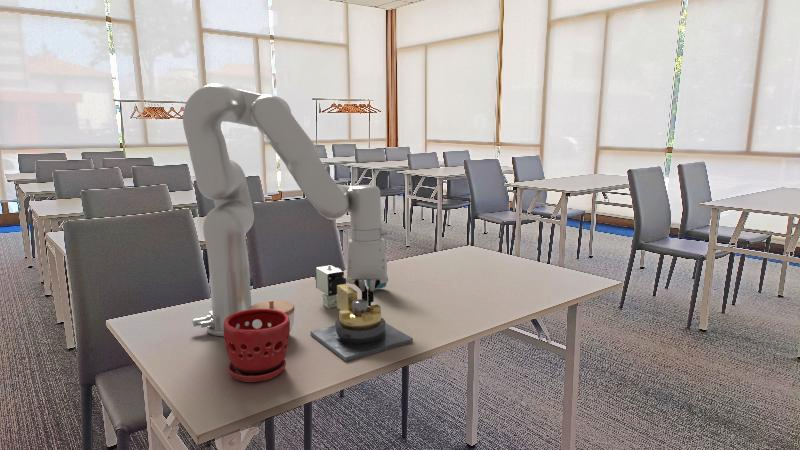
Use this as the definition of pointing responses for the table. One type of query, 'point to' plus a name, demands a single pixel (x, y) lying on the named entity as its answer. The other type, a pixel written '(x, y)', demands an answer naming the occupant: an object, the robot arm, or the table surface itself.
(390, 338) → the housing
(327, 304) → the pneumatic valve
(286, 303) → the lidded jar
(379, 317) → the gold slotted fixture
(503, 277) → the table surface
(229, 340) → the plant pot
